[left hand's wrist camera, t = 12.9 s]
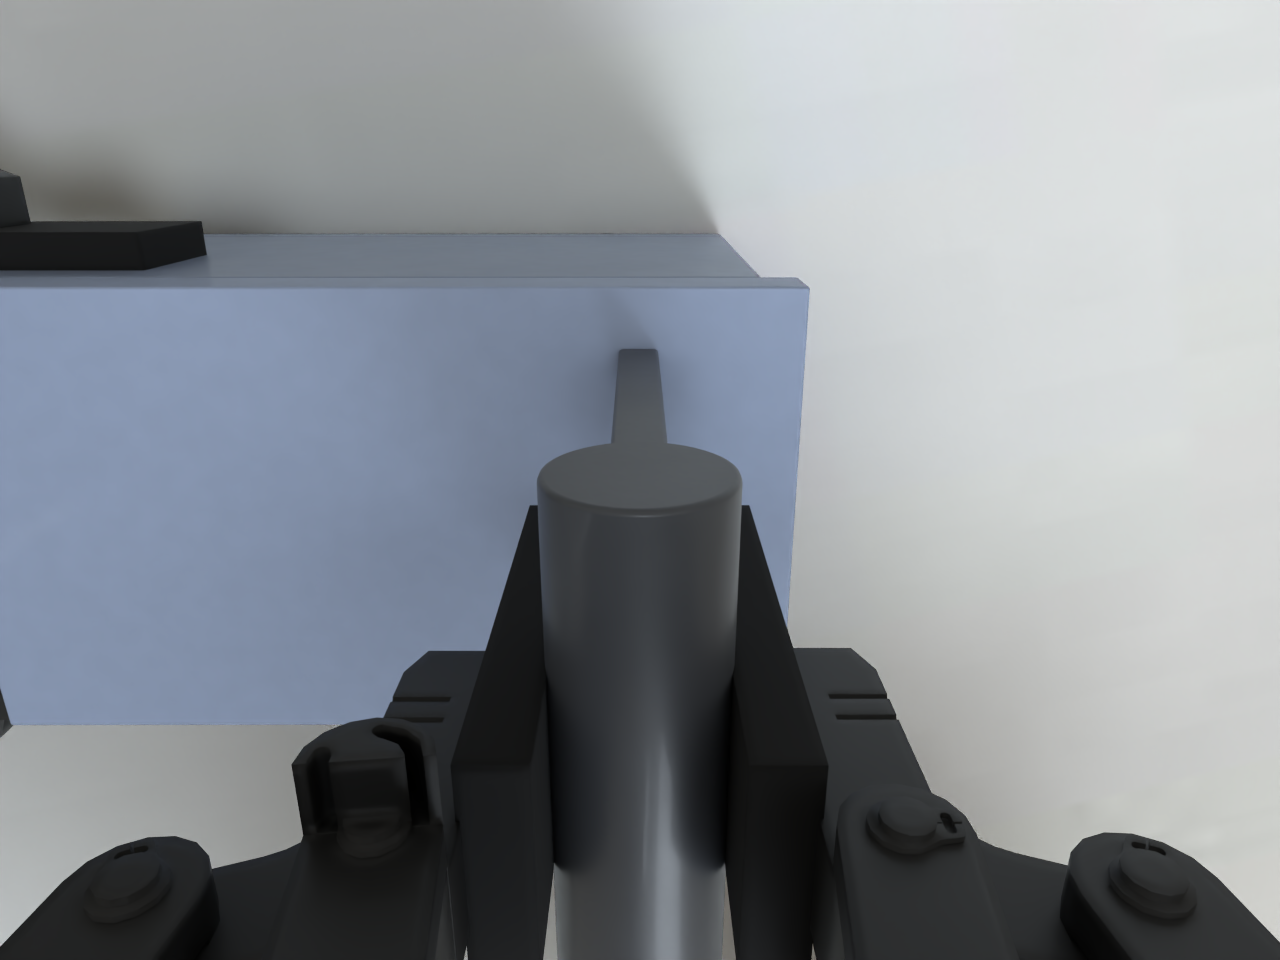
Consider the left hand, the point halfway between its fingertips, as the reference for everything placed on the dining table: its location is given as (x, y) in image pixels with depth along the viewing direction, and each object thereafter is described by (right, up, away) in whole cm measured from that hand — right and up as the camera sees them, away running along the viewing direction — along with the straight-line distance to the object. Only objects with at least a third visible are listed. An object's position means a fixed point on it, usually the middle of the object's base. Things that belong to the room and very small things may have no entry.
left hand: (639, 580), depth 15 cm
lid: (-5, +1, +3) cm, 6 cm away
